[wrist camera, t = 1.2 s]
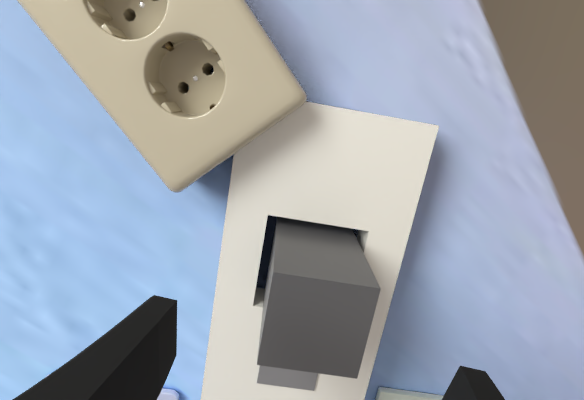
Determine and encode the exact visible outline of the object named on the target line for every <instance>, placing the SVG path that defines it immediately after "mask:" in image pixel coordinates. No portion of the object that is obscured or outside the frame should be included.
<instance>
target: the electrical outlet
mask: <svg viewBox="0 0 584 400" xmlns="http://www.w3.org/2000/svg"><path fill="white" fill-rule="evenodd" d="M17 1H18V2H19V3H20V5H21V6H22V7H23V8H24V10H25V11H26V12H27V13H28V15H29V16H30V17H31V18H32V19H33V21H34V22H35V23H36V24H37V26H38V27H39V28H40V29H41V31H42V32H43V33H44V34H45V36H46V37H47V38H48V39H49V41H50V42H51V43H52V44H53V46H54V47H55V48H56V49H57V51H58V52H59V53H60V54H61V56H62V57H63V58H64V59H65V60H66V62H67V63H68V64H69V65H70V67H71V68H72V69H73V70H74V72H75V73H76V74H77V75H78V77H79V78H80V79H81V80H82V82H83V83H84V84H85V85H86V87H87V88H88V89H89V90H90V92H91V93H92V94H93V95H94V97H95V98H96V99H97V100H98V101H99V103H100V104H101V105H102V106H103V108H104V109H105V110H106V111H107V113H108V114H109V115H110V116H111V118H112V119H113V120H114V121H115V123H116V124H117V125H118V126H119V128H120V129H121V130H122V131H123V133H124V134H125V135H126V136H127V138H128V139H129V140H130V141H131V142H132V144H133V145H134V146H135V147H136V149H137V150H138V151H139V152H140V154H141V155H142V156H143V157H144V159H145V160H146V161H147V162H148V164H149V165H150V166H151V167H152V169H153V170H154V171H155V172H156V174H157V175H158V176H159V177H160V179H161V180H162V181H163V182H164V184H165V185H166V186H167V187H168V188H169V189H170V190H171V191H173V192H175V193H177V192H181V191H183V190H184V189H185V188H187V187H188V186H190V185H191V184H192V183H194V182H195V181H197V180H198V179H199V178H201V177H202V176H204V175H205V174H207V173H208V172H209V171H211V170H212V169H214V168H215V167H216V166H218V165H219V164H221V163H222V162H223V161H225V160H226V159H228V158H229V157H230V156H232V155H233V154H235V153H236V152H238V151H239V150H240V149H242V148H243V147H245V146H246V145H247V144H249V143H250V142H252V141H253V140H254V139H256V138H257V137H259V136H260V135H262V134H263V133H264V132H266V131H267V130H269V129H270V128H271V127H273V126H274V125H276V124H277V123H278V122H280V121H281V120H283V119H284V118H285V117H287V116H288V115H290V114H291V113H293V112H294V111H295V110H297V109H298V108H300V107H301V106H302V105H304V103H305V102H306V100H307V96H306V93H305V92H304V90H303V89H302V87H301V86H300V84H299V82H298V81H297V79H296V78H295V76H294V75H293V73H292V72H291V70H290V69H289V67H288V66H287V64H286V63H285V61H284V60H283V58H282V57H281V55H280V54H279V52H278V50H277V49H276V47H275V46H274V44H273V43H272V41H271V40H270V38H269V37H268V35H267V34H266V32H265V31H264V29H263V28H262V26H261V25H260V23H259V21H258V20H257V18H256V17H255V15H254V14H253V12H252V11H251V9H250V8H249V6H248V5H247V3H246V2H245V0H17ZM212 67H213V69H214V71H213V73H212V74H211V72H210V70H211V68H212ZM188 86H189V90H188Z"/></svg>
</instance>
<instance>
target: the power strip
mask: <svg viewBox="0 0 584 400" xmlns="http://www.w3.org/2000/svg"><path fill="white" fill-rule="evenodd" d="M438 128H439V126H437V125H432V124H427V123H423V122H417V121H411V120H406V119H400V118H395V117H389V116H384V115H378V114H373V113H367V112H362V111H356V110H351V109H345V108H340V107H334V106H329V105H323V104H318V103H312V102H305V103H304V105H302V106H301V107H300V108H298V109H297V110H295V111H294V112H293V113H291V114H290V115H288V116H287V117H285V118H284V119H283V120H281V121H280V122H278V123H277V124H276V125H274V126H273V127H271V128H270V129H269V130H267V131H266V132H264V133H263V134H262V135H260V136H259V137H257V138H256V139H254V140H253V141H252V142H250V143H249V144H247V145H246V146H245V147H243V148H242V149H240V150H239V151H238V152H236V153H235V154H234V157H233V164H232V172H231V179H230V186H229V194H228V201H227V209H226V216H225V223H224V231H223V238H222V246H221V253H220V260H219V268H218V275H217V283H216V290H215V297H214V305H213V312H212V320H211V327H210V334H209V342H208V349H207V357H206V364H205V372H204V379H203V386H202V394H201V400H364V399H365V395H366V391H367V388H368V384H369V380H370V377H371V373H372V369H373V366H374V362H375V358H376V355H377V351H378V347H379V344H380V340H381V336H382V333H383V329H384V325H385V322H386V318H387V314H388V311H389V307H390V303H391V300H392V296H393V292H394V289H395V285H396V281H397V278H398V274H399V271H400V267H401V263H402V260H403V256H404V252H405V249H406V245H407V241H408V238H409V234H410V230H411V227H412V223H413V219H414V216H415V212H416V208H417V205H418V201H419V197H420V194H421V190H422V186H423V183H424V179H425V175H426V172H427V168H428V164H429V161H430V157H431V153H432V150H433V146H434V143H435V139H436V135H437V132H438ZM268 215H271V216H277V217H284V218H290V219H296V220H302V221H308V222H315V223H321V224H327V225H333V226H339V227H345V228H352V229H358V234H357V238H356V239H357V241H358V243H359V245H360V247H361V249H362V251H363V253H364V255H365V257H366V259H367V261H368V263H369V265H370V267H371V269H372V271H373V273H374V275H375V277H376V280H377V282H378V284H379V286H380V288H381V290H380V294H379V298H378V302H377V305H376V309H375V313H374V317H373V321H372V324H371V328H370V332H369V336H368V340H367V343H366V347H365V351H364V355H363V359H362V363H361V366H360V370H359V374H358V378H357V379H355V378H348V377H341V376H333V375H326V374H319V373H312V372H304V371H297V370H290V369H282V368H275V367H268V366H261V365H257V358H258V349H259V339H260V330H261V321H262V312H263V302H264V293H265V288H259V287H256V284H257V278H258V272H259V266H260V260H261V254H262V247H263V241H264V235H265V229H266V223H267V217H268Z"/></svg>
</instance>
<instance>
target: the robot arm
mask: <svg viewBox="0 0 584 400" xmlns="http://www.w3.org/2000/svg"><path fill="white" fill-rule="evenodd" d="M176 339H177V300H173V299H168V298H164V297H160V296H155V295H154V296H152V297H150V298H149V299H148V300H147V301H145V302H144V303H143V304H142V305H141V306H139V307H138V308H137V309H136V310H134V311H133V312H132V313H131V314H130V315H128V316H127V317H126V318H125V319H123V320H122V321H121V322H120V323H118V324H117V325H116V326H115V327H113V328H112V329H111V330H109V331H108V332H107V333H106V334H104V335H103V336H102V337H100V338H99V339H98V340H96V341H95V342H94V343H93V344H91V345H90V346H89V347H87V348H86V349H85V350H83V351H82V352H81V353H79V354H78V355H77V356H75V357H74V358H73V359H71V360H70V361H68V362H67V363H66V364H64V365H63V366H61V367H60V368H58V369H57V370H56V371H54V372H53V373H51V374H49V375H47V376H46V377H45V378H44V379H43V380H41V381H40V382H38V383H37V384H36V385H34V386H33V387H31V388H30V389H28V390H27V391H25V392H24V393H22V394H21V395H19V396H18V397H16V398H14V399H13V400H179V394H178V393H177V392H176V391H175V390H172V389H164V388H163V385H164V383H165V381H166V379H167V376H168V374H169V371H170V369H171V367H172V364H173V362H174V359H175V357H176ZM442 400H505V399H504V397H503V396H502V395H501V393H500V392H499V390H498V389H497V387H496V386H495V384H494V383H493V381H492V380H491V379H490V377H489V376H488V374H487V373H486V372H485V371H481V370H476V369H472V368H468V367H463V366H460V367H459V369H458V371H457V373H456V374H455V376H454V378H453V380H452V382H451V384H450V385H449V387H448V389H447V391H446V393H445V395H444V397H443V398H442Z"/></svg>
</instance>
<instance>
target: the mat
mask: <svg viewBox="0 0 584 400" xmlns="http://www.w3.org/2000/svg"><path fill="white" fill-rule="evenodd" d="M443 397H444V396H443V395H435V394H428V393H421V392H414V391H406V390H399V389H392V388H384V387H379V389H378V392H377V396H376V399H375V400H442V398H443Z"/></svg>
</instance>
